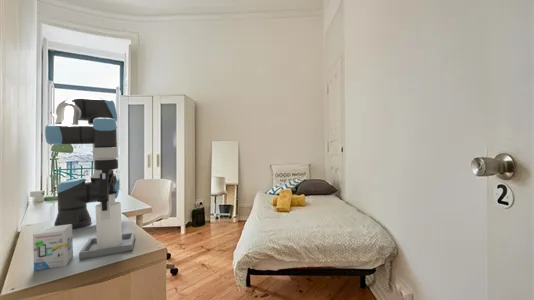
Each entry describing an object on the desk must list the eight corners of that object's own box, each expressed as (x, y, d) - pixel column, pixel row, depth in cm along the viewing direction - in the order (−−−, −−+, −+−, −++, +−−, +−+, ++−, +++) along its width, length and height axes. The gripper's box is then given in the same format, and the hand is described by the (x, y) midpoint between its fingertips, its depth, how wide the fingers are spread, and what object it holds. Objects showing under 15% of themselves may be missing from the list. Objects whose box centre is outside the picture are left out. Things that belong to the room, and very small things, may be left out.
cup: (110, 250, 95) (109, 206, 95) (91, 249, 96) (89, 206, 96) (127, 242, 103) (125, 201, 103) (109, 241, 104) (107, 201, 104)
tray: (89, 244, 104) (89, 238, 104) (134, 237, 110) (134, 232, 110) (79, 259, 89) (78, 253, 89) (131, 251, 95) (131, 244, 95)
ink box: (33, 271, 82) (31, 234, 82) (43, 261, 89) (42, 227, 89) (66, 265, 85) (65, 230, 85) (73, 256, 93) (72, 223, 93)
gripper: (100, 158, 109) (102, 208, 110) (86, 161, 86) (89, 225, 87) (121, 157, 112) (123, 206, 113) (112, 160, 89) (115, 222, 90)
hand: (108, 214), depth 100 cm, fingers open, 13 cm apart
